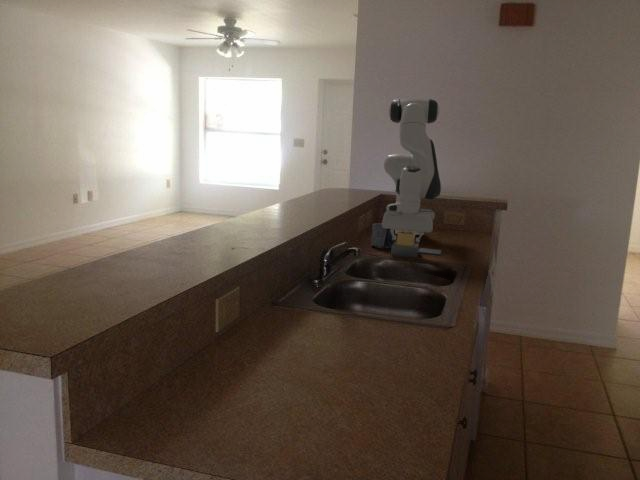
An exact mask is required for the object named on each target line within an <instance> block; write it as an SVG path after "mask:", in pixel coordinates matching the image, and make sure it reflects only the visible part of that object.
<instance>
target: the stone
mask: <svg viewBox="0 0 640 480" xmlns="http://www.w3.org/2000/svg"><path fill="white" fill-rule="evenodd" d="M371 224H372V225H371V228H372V229H371V230H372V231H371V237H370V246H371V247H372V246H373V247H375V248H378V249H380V248H381V249H382V250H385V249H391V248H392V244H393V243H394V242H395V241H396V242H397V239H396V240H392V237H393V236H392V234H391V232H390V229H386V228H383V227H382V222H381V223H380V222H378V223H377V222H376V223H371ZM393 233H394V235H395V236H397V234H395V229H394V232H393ZM381 249H380V250H381Z"/></svg>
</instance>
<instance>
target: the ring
mask: <svg viewBox="0 0 640 480" xmlns="http://www.w3.org/2000/svg"><path fill="white" fill-rule="evenodd" d="M404 232H408V231H399V232H398V234H397V235H396V236H397V237H396V242H397V245H400V246H409V247H413V245H414V243H415V242H416V235H415V232H409V234H408V233H404Z"/></svg>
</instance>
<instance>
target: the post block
mask: <svg viewBox="0 0 640 480" xmlns="http://www.w3.org/2000/svg"><path fill="white" fill-rule="evenodd" d="M404 233H408V234H409V232H404ZM419 247H420V244H419V243H416V242H414V245H413V247H409V246H400V245H397V240H396V241H395V242H394V243H393V244H392V248H390V249H391V250H390V256H395V257H403V258H412V259H413V258H415V259H417V257H418V255H419V253H418V252H419V249H420V248H419Z"/></svg>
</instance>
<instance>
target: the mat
mask: <svg viewBox="0 0 640 480" xmlns="http://www.w3.org/2000/svg"><path fill="white" fill-rule="evenodd" d="M418 254H423V255H433V256H441V255H442V249H435V248H434V249H433V248H425V247H424V248H423V247H420V248H419V250H418Z"/></svg>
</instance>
